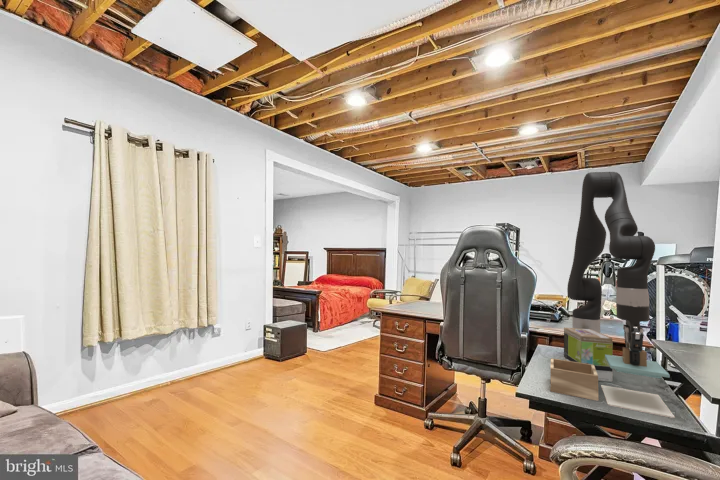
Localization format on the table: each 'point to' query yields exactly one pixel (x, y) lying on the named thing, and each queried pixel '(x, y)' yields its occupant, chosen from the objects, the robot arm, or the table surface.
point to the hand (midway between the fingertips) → (633, 362)
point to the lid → (643, 369)
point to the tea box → (589, 350)
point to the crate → (574, 379)
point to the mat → (636, 401)
